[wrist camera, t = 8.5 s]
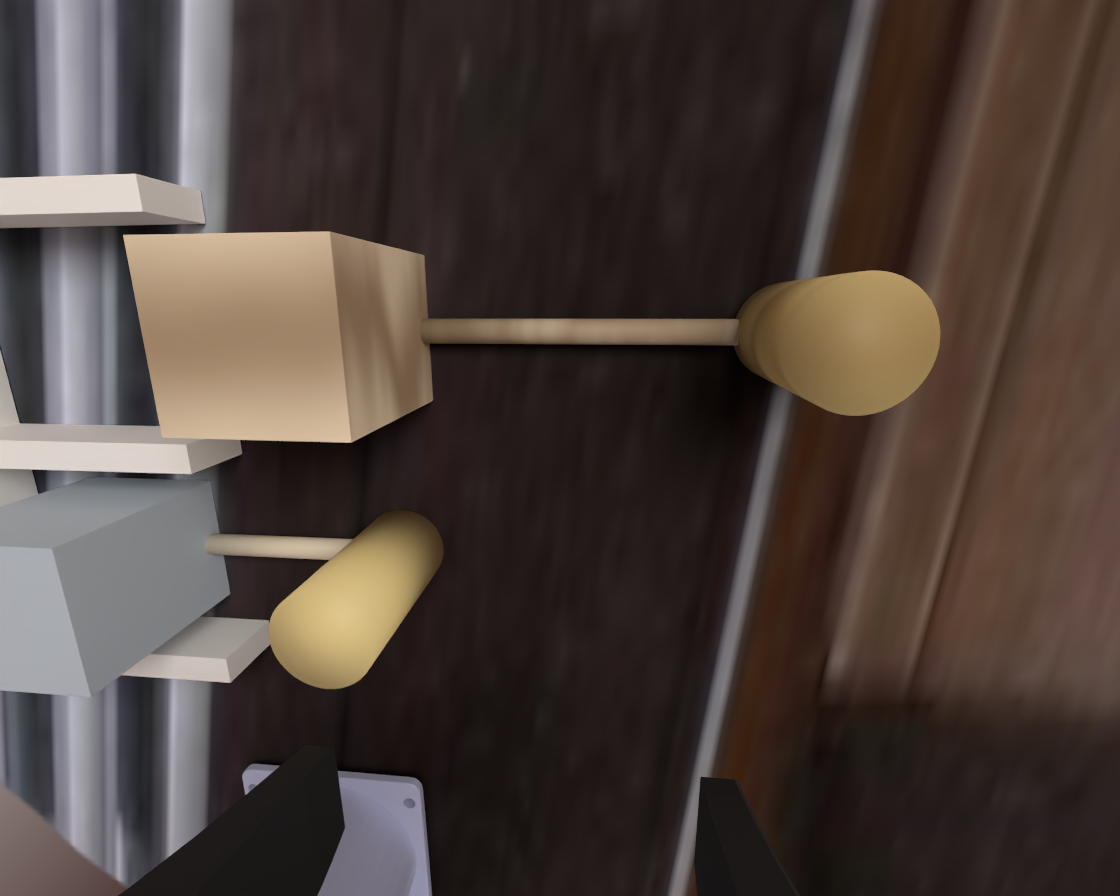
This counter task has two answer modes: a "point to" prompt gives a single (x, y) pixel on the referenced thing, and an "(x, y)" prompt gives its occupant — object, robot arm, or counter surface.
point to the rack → (15, 449)
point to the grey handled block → (185, 584)
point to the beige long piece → (455, 335)
